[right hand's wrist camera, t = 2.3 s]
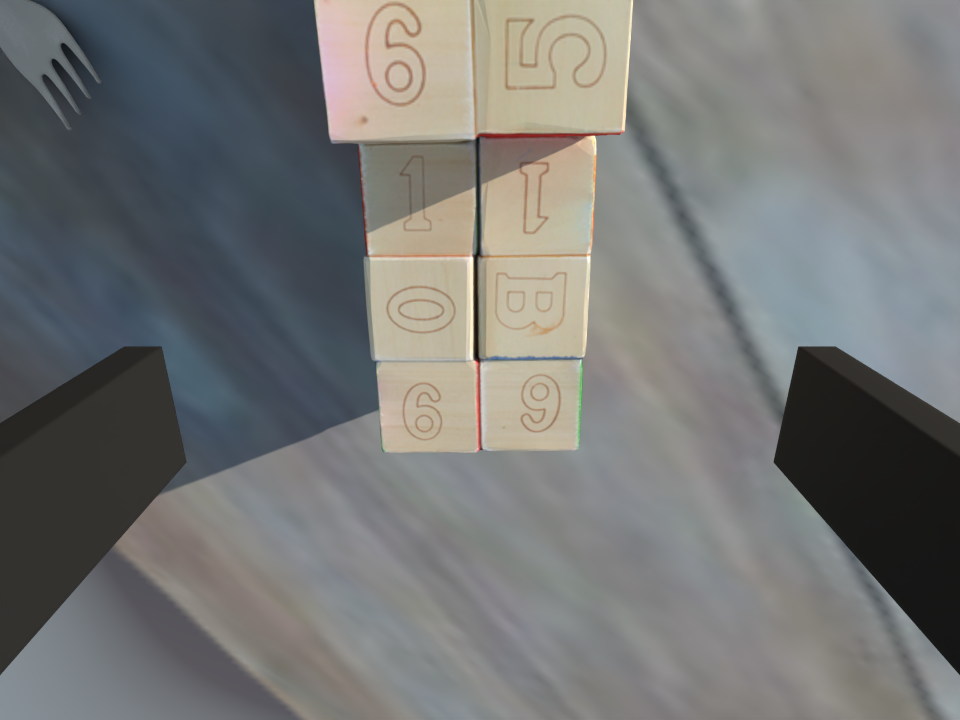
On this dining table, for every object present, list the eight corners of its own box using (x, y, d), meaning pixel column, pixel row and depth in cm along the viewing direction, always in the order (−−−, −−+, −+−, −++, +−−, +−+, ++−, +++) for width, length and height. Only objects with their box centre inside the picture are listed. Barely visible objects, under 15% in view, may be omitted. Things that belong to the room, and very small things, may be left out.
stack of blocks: (547, 350, 27) (597, 517, 15) (409, 350, 27) (354, 518, 15) (573, -278, 19) (720, -924, 7) (378, -276, 19) (213, -918, 7)
